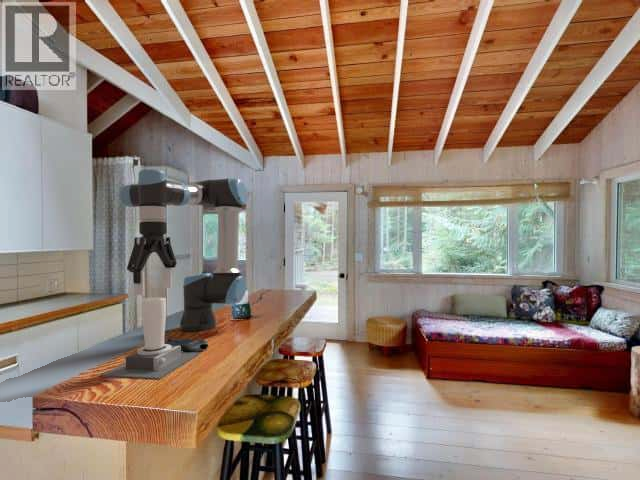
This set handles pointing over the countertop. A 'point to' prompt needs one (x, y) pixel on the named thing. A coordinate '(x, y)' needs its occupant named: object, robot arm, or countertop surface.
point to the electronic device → (187, 344)
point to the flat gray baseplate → (152, 363)
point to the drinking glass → (154, 322)
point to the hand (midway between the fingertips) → (154, 291)
